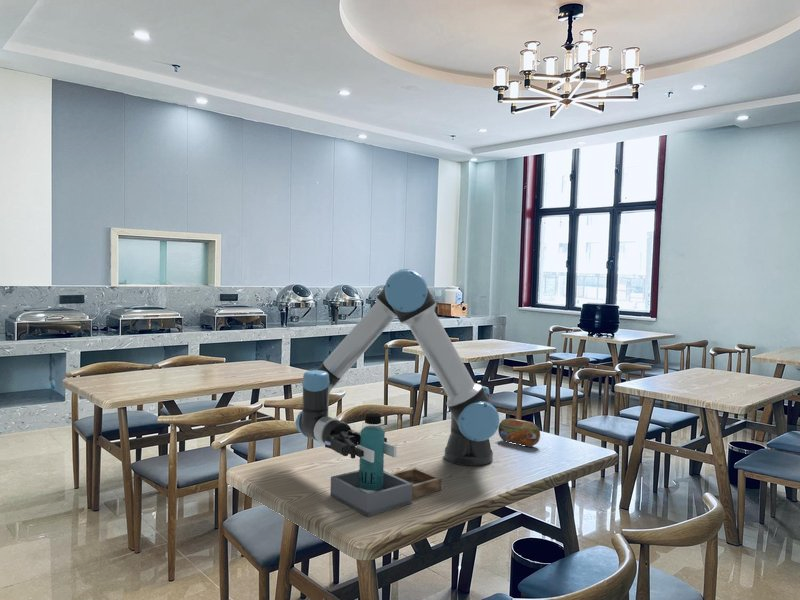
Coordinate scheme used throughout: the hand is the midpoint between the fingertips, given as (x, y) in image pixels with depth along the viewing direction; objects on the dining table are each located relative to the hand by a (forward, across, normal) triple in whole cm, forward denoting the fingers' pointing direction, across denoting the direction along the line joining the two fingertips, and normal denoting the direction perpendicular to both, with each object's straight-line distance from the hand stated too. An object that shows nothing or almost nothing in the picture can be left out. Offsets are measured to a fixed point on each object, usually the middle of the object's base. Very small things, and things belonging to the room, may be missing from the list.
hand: (384, 454), depth 144 cm
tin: (-15, -71, -13) cm, 74 cm away
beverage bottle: (-5, 0, -11) cm, 12 cm away
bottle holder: (-5, -14, -13) cm, 20 cm away
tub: (-5, 0, -13) cm, 14 cm away
